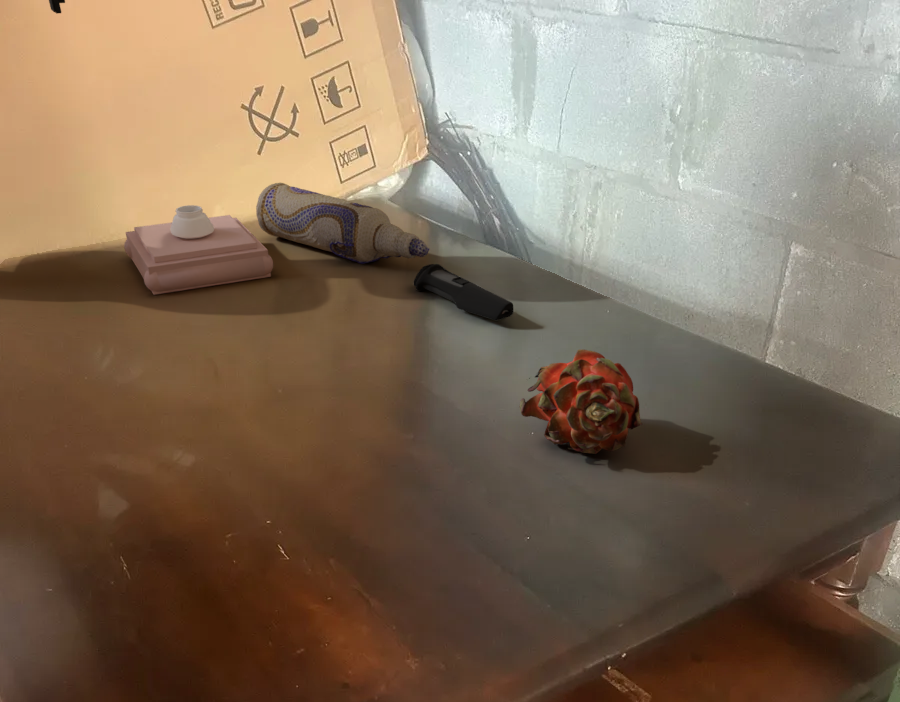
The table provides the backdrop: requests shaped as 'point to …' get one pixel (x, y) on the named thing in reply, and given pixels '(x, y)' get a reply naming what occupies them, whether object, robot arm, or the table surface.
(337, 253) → the decorative bottle
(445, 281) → the electric trimmer
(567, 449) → the table surface
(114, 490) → the table surface
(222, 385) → the table surface
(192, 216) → the white jar
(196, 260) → the decorative box
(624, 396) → the dragon fruit
